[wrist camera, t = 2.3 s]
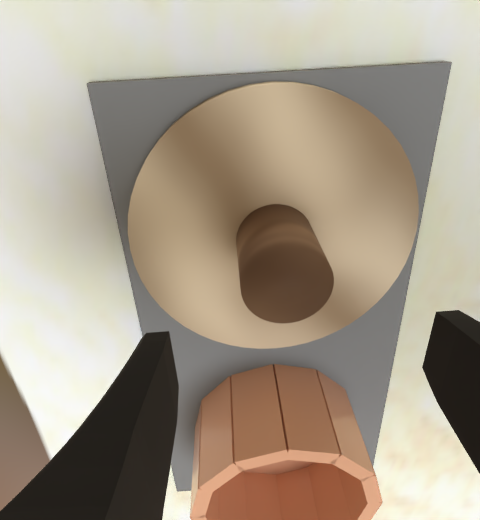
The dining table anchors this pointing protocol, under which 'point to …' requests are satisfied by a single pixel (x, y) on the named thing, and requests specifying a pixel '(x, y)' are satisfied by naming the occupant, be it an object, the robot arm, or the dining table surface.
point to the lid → (272, 215)
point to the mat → (304, 355)
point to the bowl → (280, 450)
